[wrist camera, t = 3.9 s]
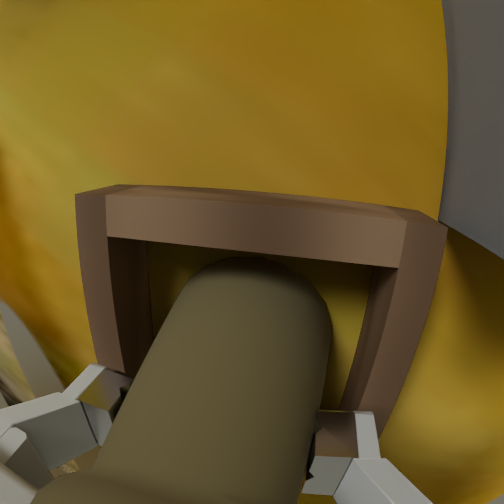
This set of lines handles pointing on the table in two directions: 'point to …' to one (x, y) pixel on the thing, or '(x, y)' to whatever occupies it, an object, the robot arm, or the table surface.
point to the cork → (217, 397)
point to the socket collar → (270, 242)
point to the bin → (475, 122)
